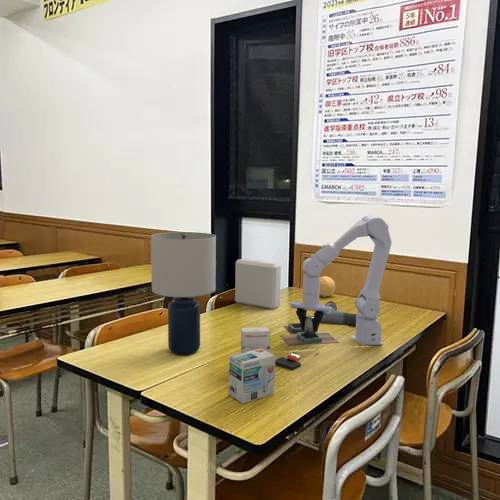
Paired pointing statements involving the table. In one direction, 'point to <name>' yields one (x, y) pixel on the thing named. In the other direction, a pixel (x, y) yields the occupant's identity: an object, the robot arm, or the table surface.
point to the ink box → (255, 339)
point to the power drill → (338, 316)
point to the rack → (308, 339)
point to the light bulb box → (251, 375)
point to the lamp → (183, 282)
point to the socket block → (293, 328)
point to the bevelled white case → (257, 283)
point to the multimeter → (289, 361)
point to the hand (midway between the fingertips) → (309, 330)
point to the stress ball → (326, 286)
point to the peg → (309, 327)
